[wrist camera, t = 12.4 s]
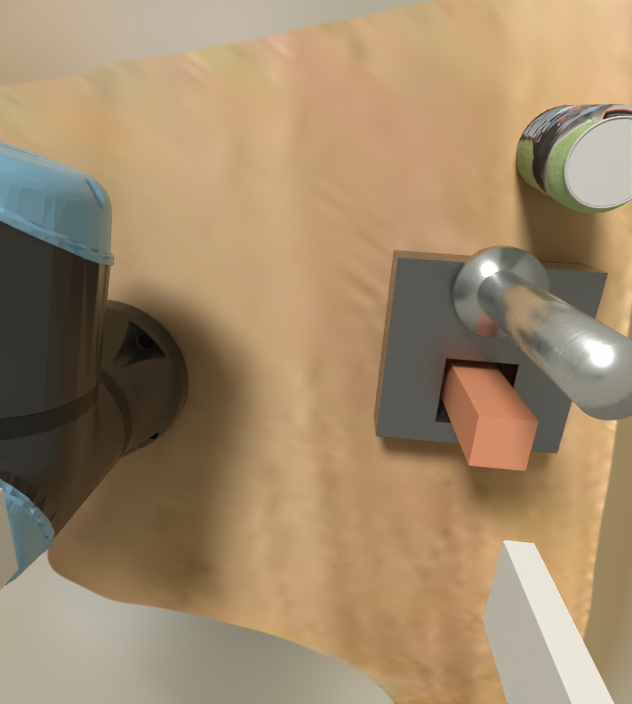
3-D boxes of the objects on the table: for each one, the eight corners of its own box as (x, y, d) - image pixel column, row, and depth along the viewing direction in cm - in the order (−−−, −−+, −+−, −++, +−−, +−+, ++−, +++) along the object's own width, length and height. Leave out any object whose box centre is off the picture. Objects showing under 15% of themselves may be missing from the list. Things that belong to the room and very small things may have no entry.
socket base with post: (374, 415, 46) (391, 606, 25) (396, 232, 40) (441, 288, 19) (540, 430, 45) (696, 639, 25) (588, 246, 39) (849, 320, 19)
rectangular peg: (439, 393, 45) (468, 465, 33) (446, 354, 43) (479, 415, 32) (482, 397, 45) (525, 470, 33) (490, 358, 43) (538, 421, 32)
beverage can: (609, 131, 36) (724, 109, 25) (550, 219, 39) (631, 236, 27) (539, 91, 36) (625, 51, 24) (485, 184, 38) (540, 185, 27)
